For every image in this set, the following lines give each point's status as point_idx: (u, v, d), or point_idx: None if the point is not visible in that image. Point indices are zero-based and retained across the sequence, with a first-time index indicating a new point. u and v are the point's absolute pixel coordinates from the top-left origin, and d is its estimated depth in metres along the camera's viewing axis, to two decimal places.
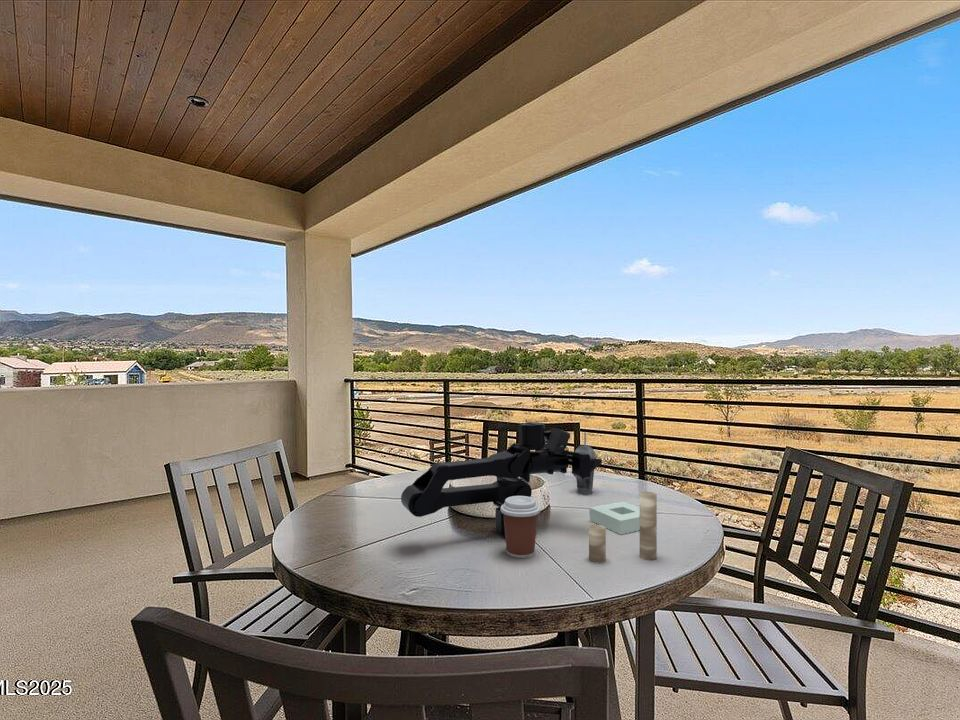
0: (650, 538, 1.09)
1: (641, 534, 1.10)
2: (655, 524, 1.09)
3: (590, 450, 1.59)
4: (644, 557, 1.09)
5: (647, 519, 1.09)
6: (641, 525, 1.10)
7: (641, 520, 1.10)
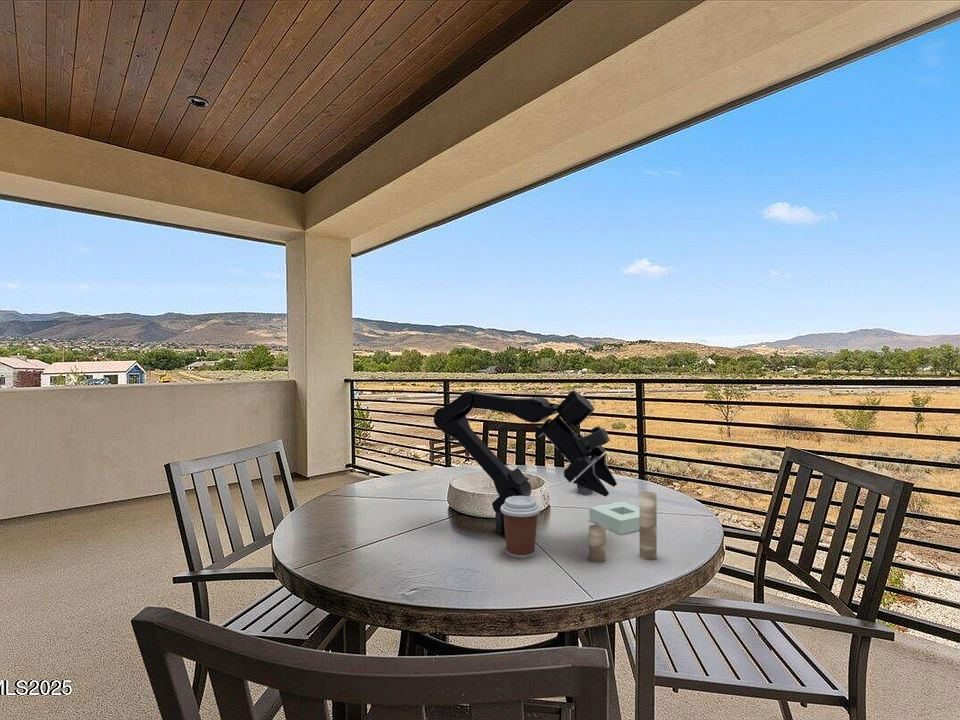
0: (650, 538, 1.09)
1: (641, 534, 1.10)
2: (655, 524, 1.09)
3: None
4: (644, 557, 1.09)
5: (647, 519, 1.09)
6: (641, 525, 1.10)
7: (641, 520, 1.10)
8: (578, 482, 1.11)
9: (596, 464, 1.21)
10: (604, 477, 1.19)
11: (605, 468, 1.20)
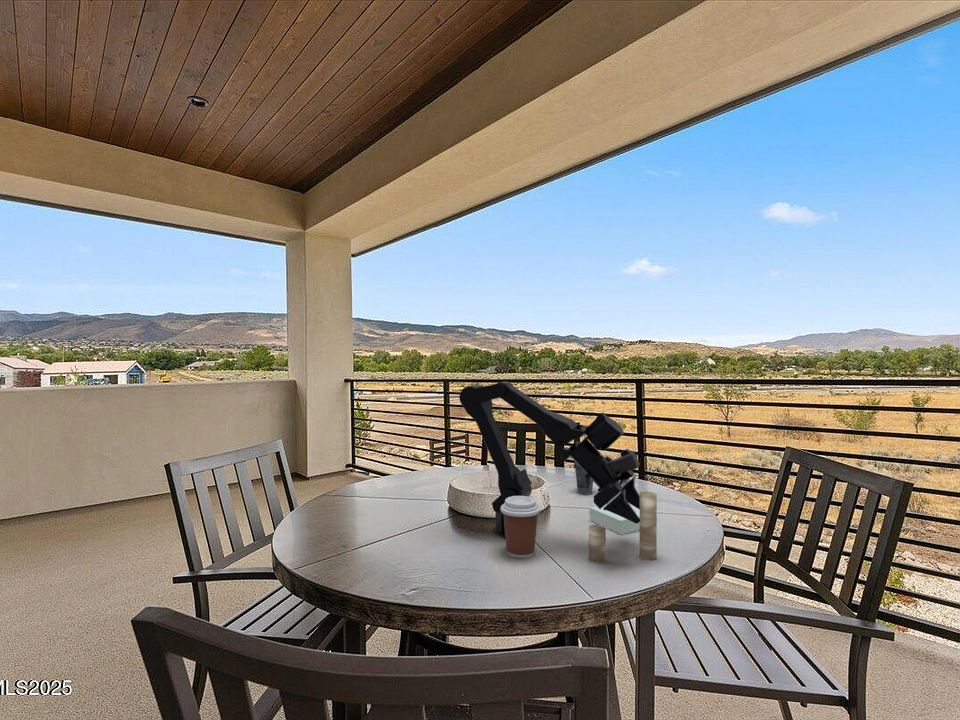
0: (650, 538, 1.09)
1: (641, 534, 1.10)
2: (655, 524, 1.09)
3: None
4: (644, 557, 1.09)
5: (647, 519, 1.09)
6: (641, 525, 1.10)
7: (641, 520, 1.10)
8: (608, 508, 1.08)
9: (625, 488, 1.17)
10: (633, 501, 1.16)
11: (634, 492, 1.16)
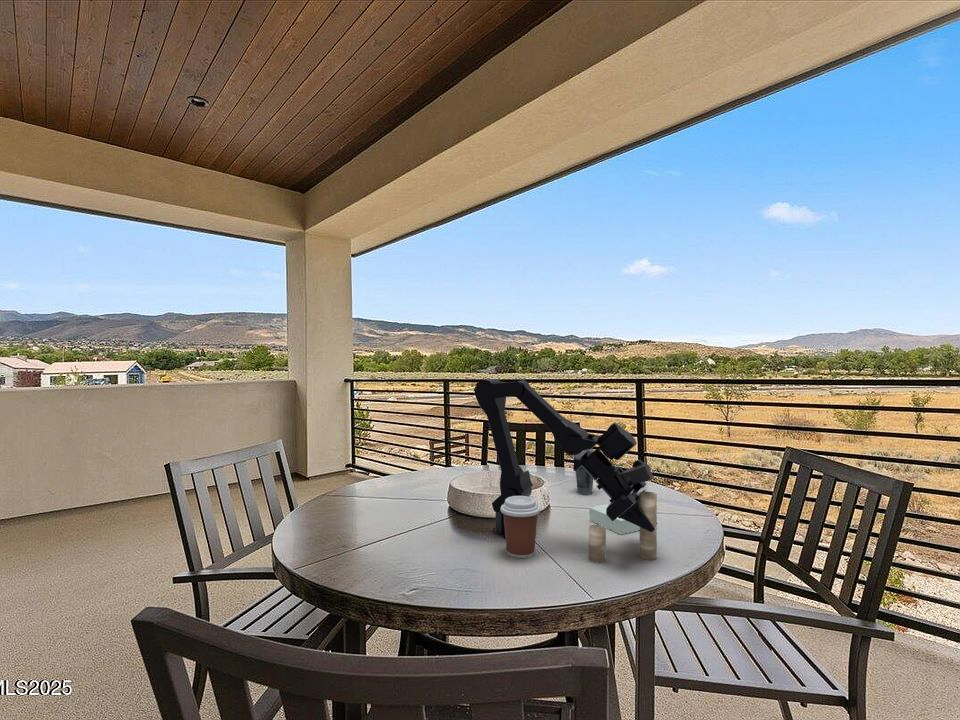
0: (650, 538, 1.09)
1: (641, 534, 1.10)
2: (655, 524, 1.09)
3: (590, 450, 1.59)
4: (644, 557, 1.09)
5: None
6: None
7: None
8: (623, 517, 1.09)
9: None
10: None
11: None
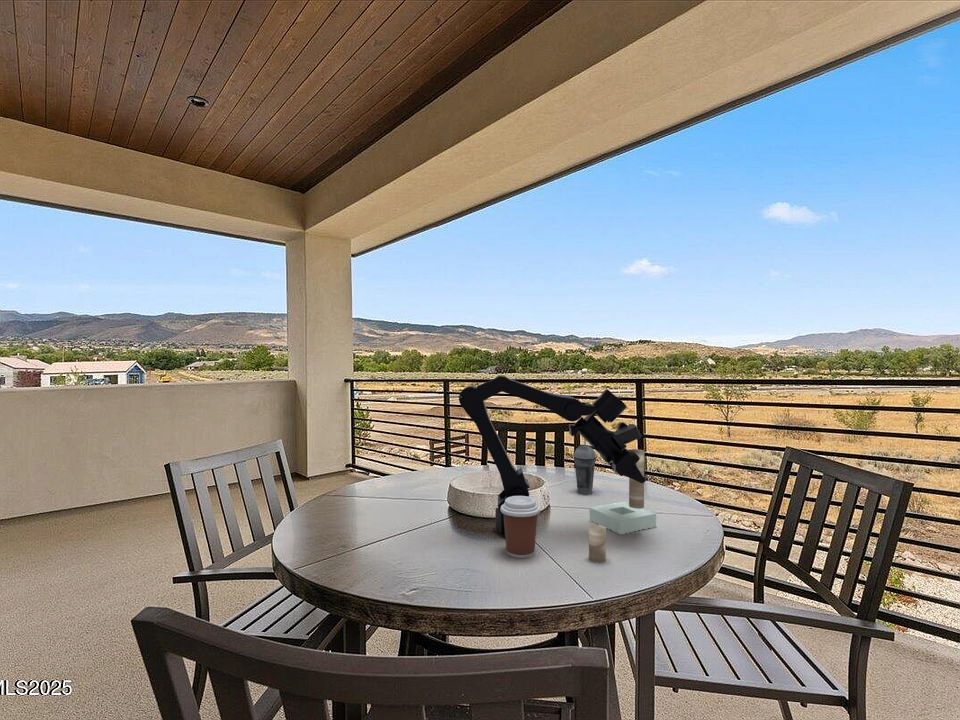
0: (641, 489, 1.23)
1: (633, 487, 1.23)
2: (643, 476, 1.24)
3: (590, 450, 1.59)
4: (636, 507, 1.23)
5: None
6: None
7: None
8: None
9: None
10: None
11: None
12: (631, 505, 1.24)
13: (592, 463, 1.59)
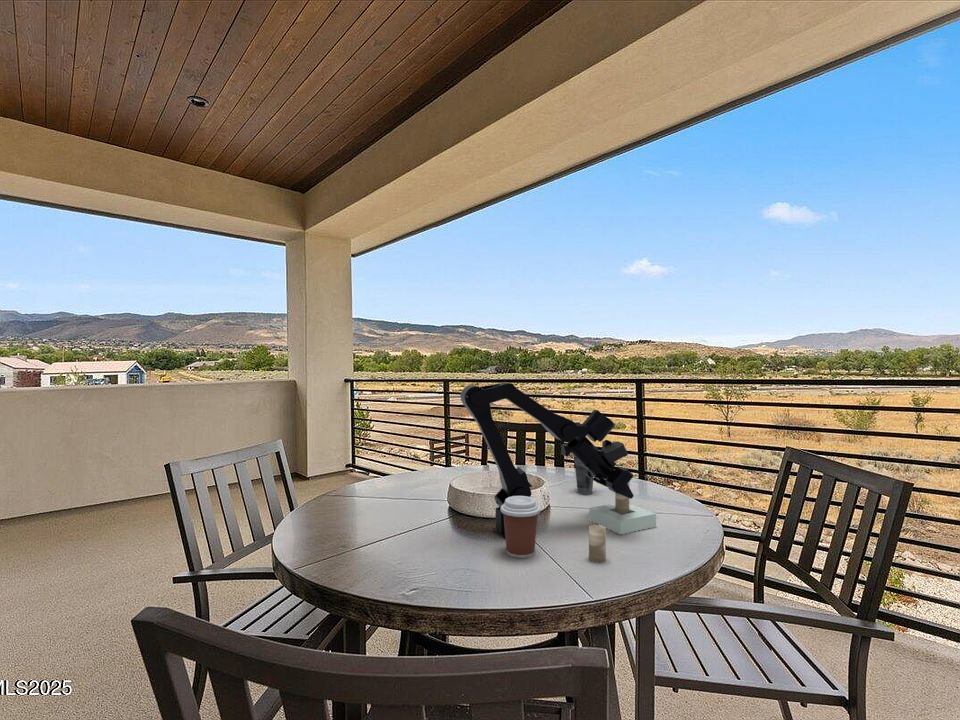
0: (627, 507, 1.30)
1: (620, 506, 1.30)
2: None
3: None
4: None
5: None
6: (620, 498, 1.30)
7: None
8: None
9: None
10: None
11: None
12: None
13: None
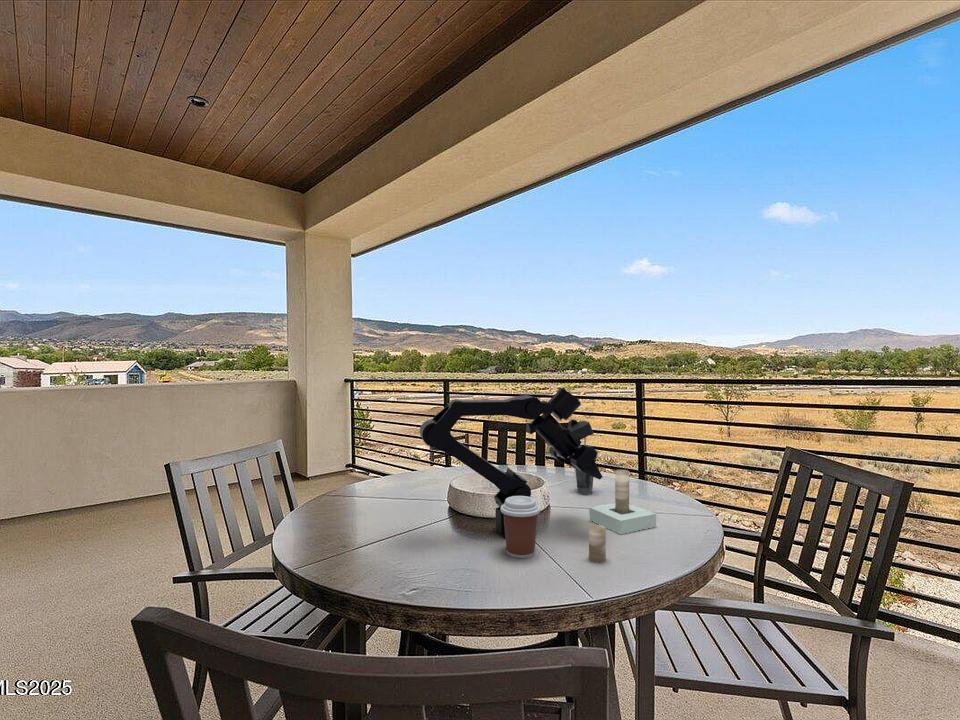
0: (627, 507, 1.30)
1: (620, 506, 1.30)
2: None
3: None
4: None
5: (625, 492, 1.30)
6: (620, 498, 1.30)
7: (620, 494, 1.30)
8: (583, 470, 1.22)
9: None
10: None
11: None
12: None
13: None
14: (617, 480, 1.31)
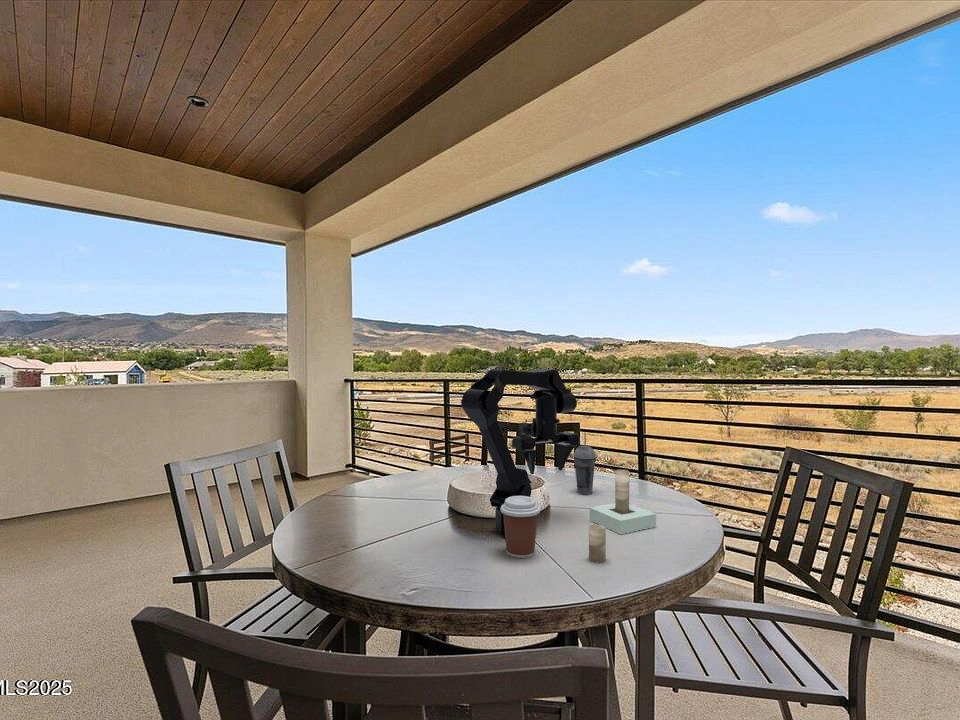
0: (627, 507, 1.30)
1: (620, 506, 1.30)
2: None
3: (590, 450, 1.59)
4: None
5: (625, 492, 1.30)
6: (620, 498, 1.30)
7: (620, 494, 1.30)
8: None
9: None
10: None
11: None
12: None
13: (592, 463, 1.59)
14: (617, 480, 1.31)
